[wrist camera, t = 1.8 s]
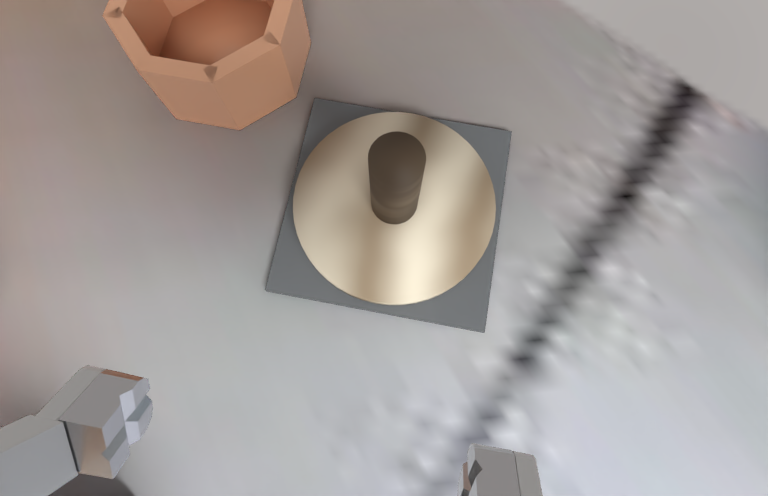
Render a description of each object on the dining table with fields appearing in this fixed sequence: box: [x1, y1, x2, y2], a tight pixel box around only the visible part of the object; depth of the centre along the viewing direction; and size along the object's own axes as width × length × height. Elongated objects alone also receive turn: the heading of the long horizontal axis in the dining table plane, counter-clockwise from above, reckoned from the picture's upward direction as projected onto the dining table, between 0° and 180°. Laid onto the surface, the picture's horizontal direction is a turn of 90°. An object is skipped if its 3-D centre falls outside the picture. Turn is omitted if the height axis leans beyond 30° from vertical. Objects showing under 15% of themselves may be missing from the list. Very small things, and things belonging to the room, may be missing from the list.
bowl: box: [102, 0, 311, 130], centre depth 34 cm, size 12×12×6 cm
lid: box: [293, 112, 496, 305], centre depth 30 cm, size 14×14×8 cm
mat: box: [265, 98, 512, 333], centre depth 34 cm, size 15×15×1 cm
